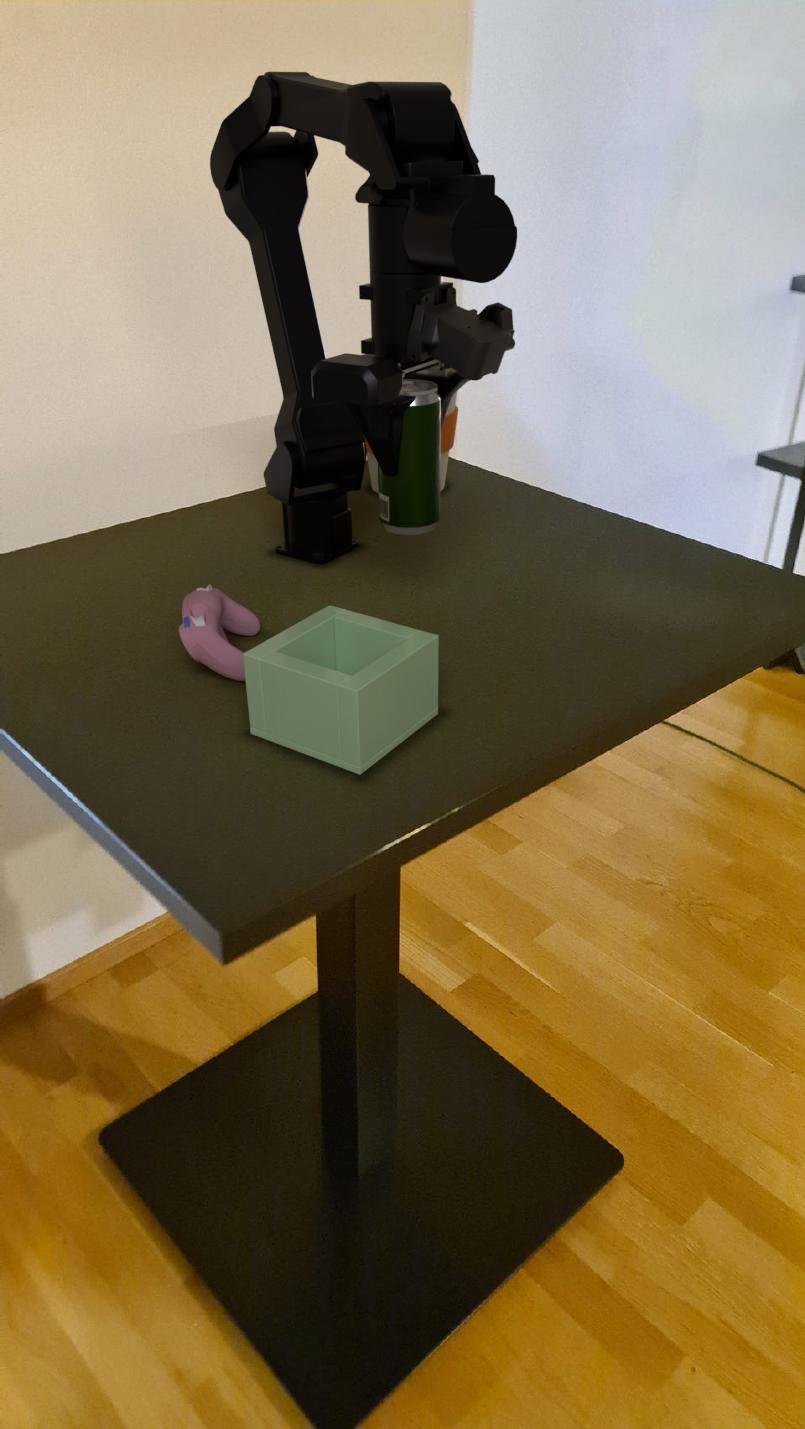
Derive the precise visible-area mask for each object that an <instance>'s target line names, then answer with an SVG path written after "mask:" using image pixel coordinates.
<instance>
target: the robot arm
mask: <svg viewBox="0 0 805 1429" xmlns="http://www.w3.org/2000/svg"><path fill="white" fill-rule="evenodd" d="M452 97H453V93H452V91H451V89H450V88H449V87H448V85H446V84H444V83H442V82H440V81H365V82H360V83H355V84H349V83H345V82H340V81H335V80H331V79H325V78H320V77H316V76H314V75H311V74H310V73H308V72H307V71H266V72H264V74H261V75H257V77H256V78H255V80H254V83H253V86H252V88H251V91H250V94H249V96H248V97H247V98H246V99H245V100H244V101H242V102H241V103H240V104H239V105H238V106H237V107H236V108H235V109H234V110H232V111H231V112H230V113H229V114H228V115H227V116H226V117H225V118H224V119H223V120H222V122H221V124H220V127H219V129H218V132H217V135H216V137H215V141H214V143H213V146H212V148H211V151H210V157H209V169H210V170H209V171H210V176H211V179H212V183H213V184H214V187H215V188H216V189H217V190H218V191H217V192H218V194H219V199H220V201H221V204H222V205H221V206H222V207H223V211H224V214H225V216H226V217H227V219H228V220H230V222H231V223H232V224H233V226H234V227H235V228H236V229H237V230H238V231H239V233H240V234H241V235H242V236H243V238H245V239H246V240H247V242H248V245H249V248H250V253H251V257H252V262H253V266H254V271H255V275H256V280H257V284H258V288H259V293H260V299H261V302H262V306H263V311H264V315H265V321H266V323H267V329H268V333H269V339H270V342H271V347H272V351H273V356H274V359H275V365H276V369H277V375H278V379H279V384H280V388H281V391H282V392H281V393H282V402H281V405H280V407H279V408H280V409H279V412H278V415H277V416H276V421H275V423H274V427H273V432H274V439H275V446H276V447H275V449H274V451H273V453H272V455H271V457H270V459H269V461H268V463H267V465H266V467H265V468H264V471H263V478H264V483H265V489H266V492H267V493H266V494H268V495H269V496H271V497H272V498H274V499H276V500H277V501H279V502H281V510H282V524H283V538H284V542H283V543H280V544H279V545H277V546H276V545H275V547H274V552H275V553H277V554H281V555H285V556H288V557H292V558H296V559H301V560H304V561H308V562H313V563H317V564H322V565H323V564H326V563H328V562H330V561H332V560H334V559H336V558H337V557H339V556H342V555H345V553H348V552H350V551H351V550H353V549H355V548H358V547H359V545H360V542H359V540H358V539H354V538H353V528H352V527H353V525H352V524H353V523H352V520H353V519H352V510H351V508H349V498H348V496H349V495H348V493H350V492H358V491H361V489H362V484H363V479H364V473H365V467H366V462H367V448H366V444H365V439H366V440H367V442H368V444H369V446H370V448H371V450H372V452H373V454H374V456H375V458H376V460H377V462H378V464H379V466H380V468H381V470H382V472H383V474H384V475H385V476H390V477H394V476H396V475H397V470H398V463H399V452H400V437H401V423H402V415H403V413H404V412H405V411H406V409H407V408H408V407H409V406H410V405H411V404H412V403H413V401H414V400H415V399H416V396H410V395H403V380H425V381H430V382H434V383H436V384H437V385H438V390H437V391H438V393H439V395H440V397H441V428H442V425H443V422H444V418H445V415H446V412H447V409H448V406H449V404H450V401H451V398H452V396H453V395H454V393H455V392H457V393H458V391H459V390H460V389H461V388H462V387H464V385H465V384H467V383H468V382H470V381H474V382H475V381H480V380H482V379H483V378H484V377H485V376H487V375H490V374H492V375H495V374H498V372H499V370H500V367H501V364H502V361H503V359H504V356H505V353H506V352H508V351H510V350H513V349H514V348H515V346H516V341H515V339H514V335H515V332H516V331H515V329H514V316H513V309H512V308H510V307H508V306H507V305H505V304H503V303H501V302H494V303H490V304H488V305H486V306H485V307H484V308H482V310H481V311H480V312H479V313H478V310H477V309H475V308H472V309H466V308H464V307H462V306H459V305H457V289H456V287H454V282H450V281H443V280H444V278H449V279H453V280H454V279H455V280H460V281H466V282H471V283H478V284H487V283H490V282H492V281H495V280H496V279H497V278H499V277H500V276H501V275H503V273H504V272H505V271H506V270H507V268H508V267H509V266H510V264H511V262H512V259H513V258H514V255H515V252H516V249H517V243H518V242H517V241H518V227H517V225H516V224H515V219H514V215H513V213H512V210H511V209H510V208H511V207H509V205H508V204H507V203H506V201H505V200H504V199H502V198H501V197H499V196H498V195H497V194H496V177H495V175H494V174H486V173H485V174H482V172H481V169H480V166H479V162H480V160H479V158H478V156H477V155H476V153H475V151H474V149H473V147H472V145H471V142H470V139H469V136H468V134H467V131H466V128H465V126H464V124H463V120H462V118H461V114H460V112H459V109H458V108H457V105H456V103H454V102H453V101H452ZM271 127H273V128H274V127H283V128H287V129H290V130H294V134H293V135H292V134H291V133H290V132H288V131H270V130H271ZM315 137H318V138H321V139H326V140H328V141H331V142H332V141H333V142H336V143H338V144H341V145H343V146H344V154H345V156H346V157H347V158H348V159H349V160H350V161H352V162H353V163H354V164H356V165H358V166H359V167H360V168H362V169H363V170H365V171H366V172H368V174H369V175H368V177H367V179H366V180H365V181H364V183H362V184H361V185H360V186H359V187H358V189H357V191H355V195H354V199H355V201H356V203H358V204H366V205H367V223H368V224H367V225H368V228H367V229H368V261H369V262H368V263H369V283H364V284H359V285H358V295H359V296H358V297H359V298H358V299H359V300H362V301H363V300H365V301H370V333H371V334H370V335H371V337H369V338H365V339H362V340H360V354H357V353H356V354H355V353H349V352H348V353H347V352H345V353H341V354H338V355H334V356H331V357H327V354H326V350H325V345H324V340H323V336H322V331H321V328H320V327H321V326H320V322H319V316H318V311H317V308H316V303H315V298H314V292H313V288H312V284H311V279H310V274H309V270H308V265H307V260H306V255H305V251H304V246H303V240H302V237H301V230H300V226H301V223H302V220H303V216H304V214H305V211H306V207H307V204H308V201H309V197H310V190H309V183H308V178H309V176H310V173H311V172H312V169H313V168H314V165H315V163H316V161H317V159H318V158H319V150H318V146H317V142H316V138H315ZM363 354H370V355H375V357H374V356H366V355H363ZM398 364H400V366H398Z"/></svg>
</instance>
